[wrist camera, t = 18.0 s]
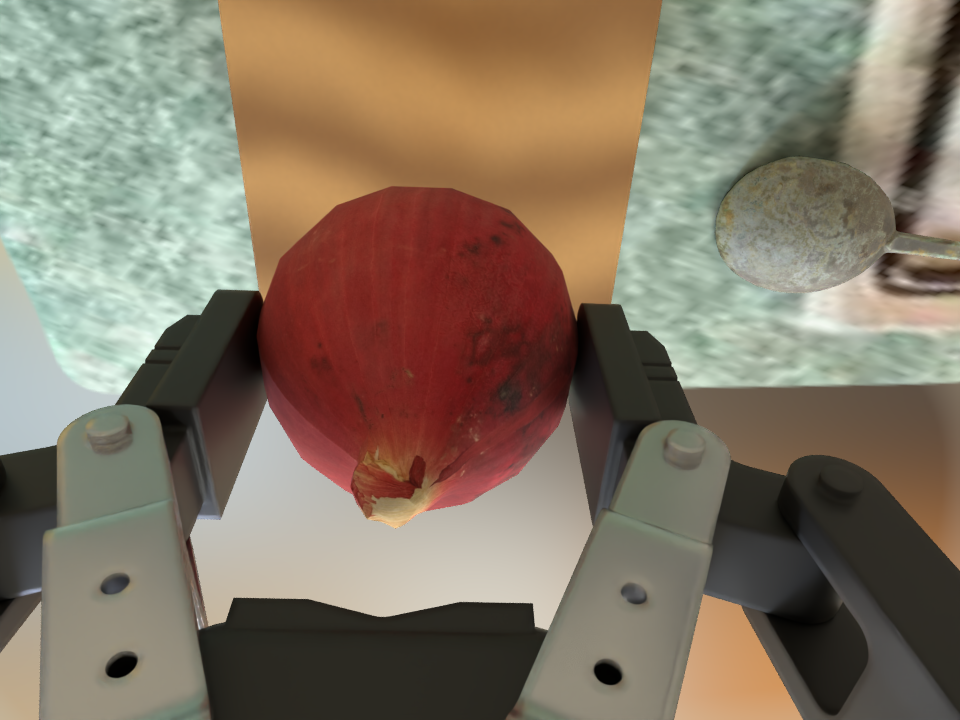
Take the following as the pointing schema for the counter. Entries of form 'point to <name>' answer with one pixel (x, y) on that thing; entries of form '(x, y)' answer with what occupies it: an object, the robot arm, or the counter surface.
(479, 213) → the onion
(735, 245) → the soupspoon
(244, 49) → the cabinet
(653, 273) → the counter surface
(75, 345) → the counter surface
